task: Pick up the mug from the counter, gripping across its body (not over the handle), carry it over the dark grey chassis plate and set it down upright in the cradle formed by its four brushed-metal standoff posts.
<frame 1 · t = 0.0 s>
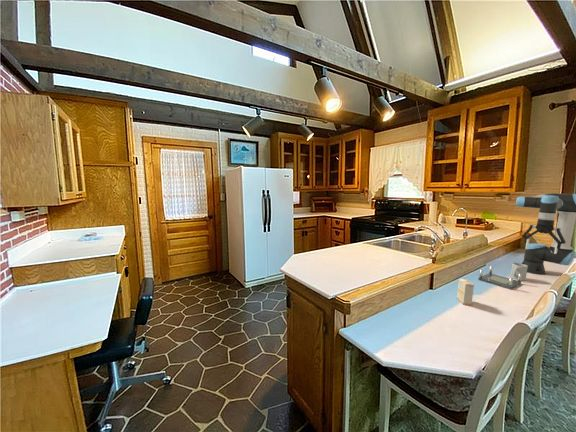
hand: (540, 250, 161), 28 cm above the breakfast bar, fingers open, 13 cm apart
mug: (516, 279, 185), on the breakfast bar
supplement box: (463, 302, 149), on the breakfast bar
chassis: (499, 281, 179), on the breakfast bar
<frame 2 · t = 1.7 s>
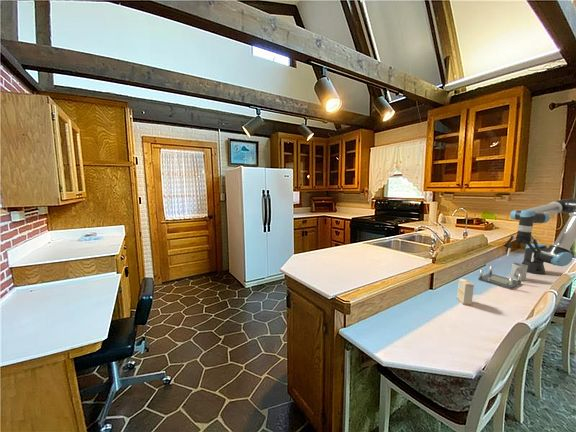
hand: (519, 258, 183), 16 cm above the breakfast bar, fingers open, 13 cm apart
nothing on the breakfast bar moved.
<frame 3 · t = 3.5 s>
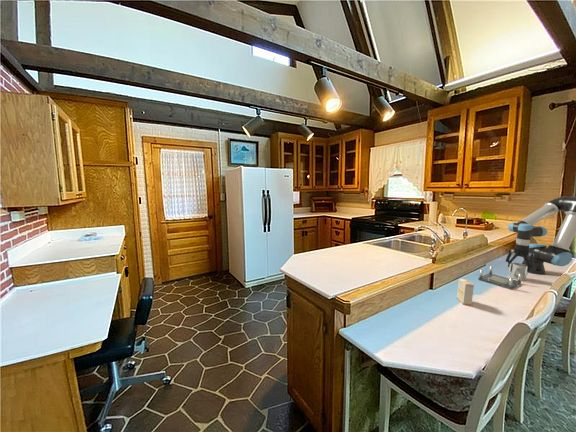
hand: (517, 273, 184), 4 cm above the breakfast bar, fingers closed on mug, 8 cm apart
mug: (516, 279, 185), on the breakfast bar, touching gripper
everything else where it was.
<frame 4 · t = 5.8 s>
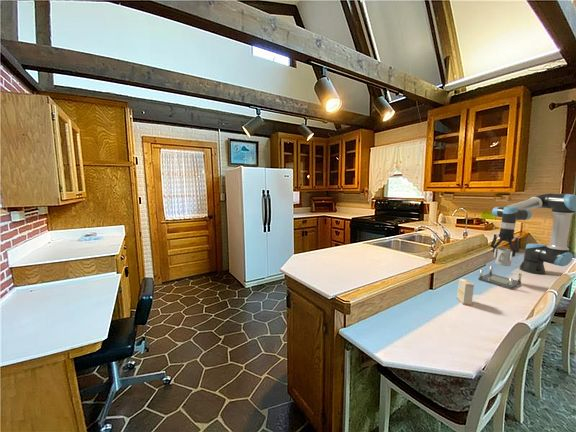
hand: (502, 258, 177), 18 cm above the breakfast bar, fingers closed on mug, 8 cm apart
mug: (501, 264, 177), point 13 cm above the breakfast bar, touching gripper
everything else where it was.
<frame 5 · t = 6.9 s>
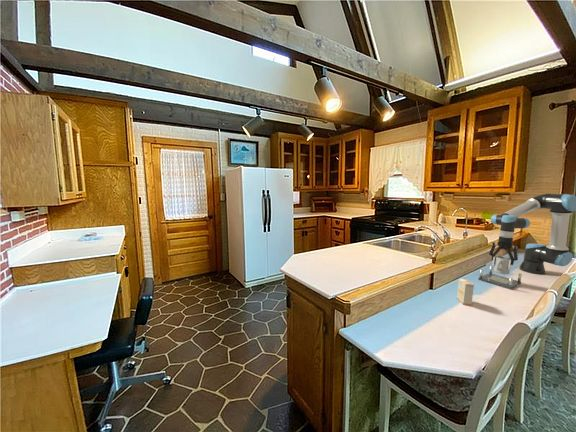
hand: (501, 266, 177), 11 cm above the breakfast bar, fingers closed on mug, 8 cm apart
mug: (500, 272, 178), point 7 cm above the breakfast bar, touching gripper
everything else where it was.
when the fingers open (7 cm above the breakfast bar, at t = 8.1 s): mug drops 1 cm, resting on chassis.
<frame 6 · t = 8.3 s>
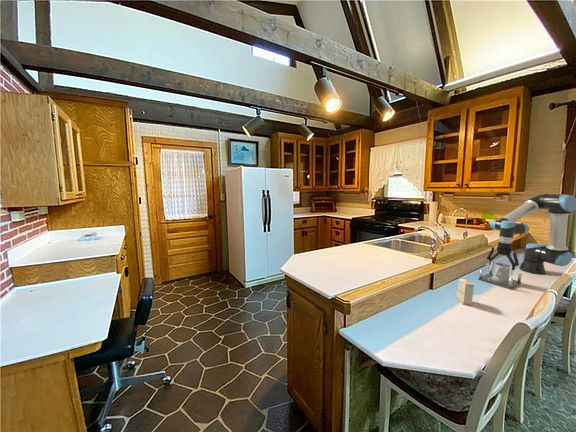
hand: (500, 271, 178), 8 cm above the breakfast bar, fingers open, 10 cm apart
mug: (499, 279, 179), point 2 cm above the breakfast bar, touching chassis
everything else where it was.
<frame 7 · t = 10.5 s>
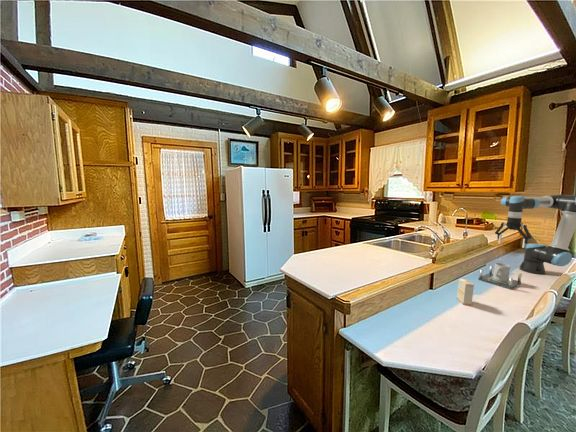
hand: (511, 245, 181), 26 cm above the breakfast bar, fingers open, 13 cm apart
nothing on the breakfast bar moved.
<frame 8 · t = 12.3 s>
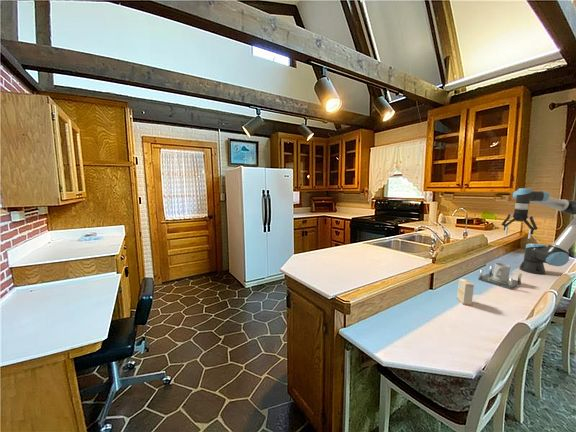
hand: (517, 236, 186), 32 cm above the breakfast bar, fingers open, 13 cm apart
nothing on the breakfast bar moved.
at the end: mug 0.1 cm from the chassis (horizontally); mug tilted 0°; mug touching chassis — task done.
